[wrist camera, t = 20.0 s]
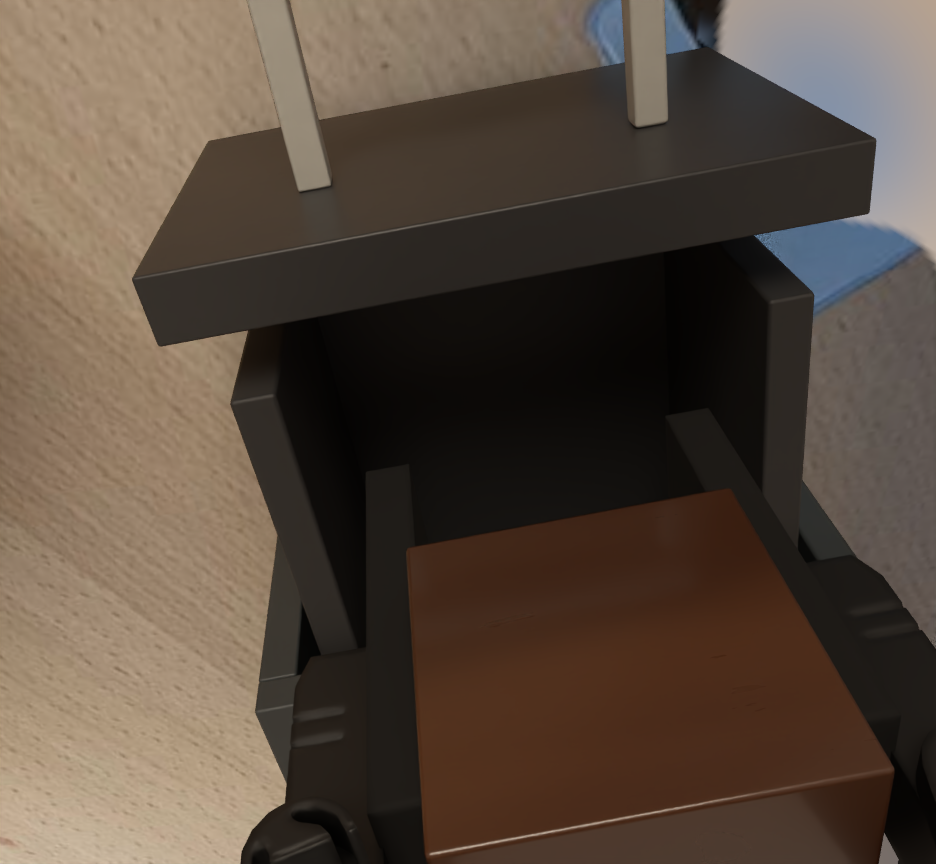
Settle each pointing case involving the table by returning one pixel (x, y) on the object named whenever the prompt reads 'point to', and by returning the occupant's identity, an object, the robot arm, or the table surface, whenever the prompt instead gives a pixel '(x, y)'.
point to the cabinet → (296, 644)
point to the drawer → (504, 292)
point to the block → (633, 699)
